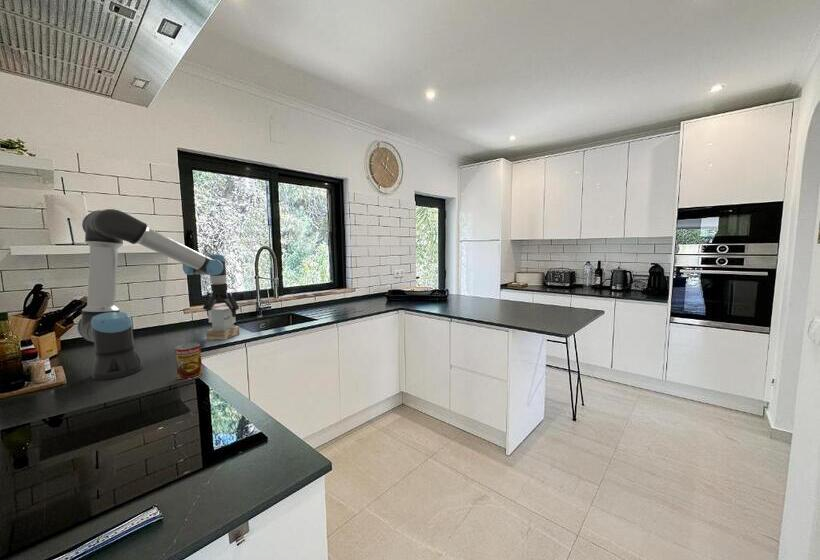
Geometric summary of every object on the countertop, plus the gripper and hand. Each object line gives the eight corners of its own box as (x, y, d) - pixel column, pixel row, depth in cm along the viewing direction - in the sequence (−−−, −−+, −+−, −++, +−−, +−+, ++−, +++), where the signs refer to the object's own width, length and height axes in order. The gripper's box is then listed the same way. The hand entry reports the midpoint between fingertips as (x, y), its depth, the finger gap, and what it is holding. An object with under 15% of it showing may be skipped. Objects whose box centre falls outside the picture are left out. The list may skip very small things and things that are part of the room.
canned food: (178, 382, 125) (174, 350, 123) (178, 375, 131) (175, 345, 130) (203, 377, 129) (200, 346, 128) (202, 370, 136) (199, 341, 134)
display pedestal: (224, 340, 177) (224, 331, 177) (206, 339, 180) (206, 330, 179) (239, 334, 188) (238, 326, 188) (222, 333, 190) (221, 325, 190)
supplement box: (224, 333, 179) (222, 309, 178) (212, 332, 181) (210, 309, 179) (234, 329, 186) (232, 306, 185) (222, 329, 188) (220, 306, 186)
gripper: (244, 282, 181) (247, 321, 184) (204, 282, 187) (207, 320, 189) (234, 284, 174) (237, 325, 177) (193, 284, 179) (196, 323, 182)
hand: (222, 322), depth 183 cm, fingers open, 13 cm apart
